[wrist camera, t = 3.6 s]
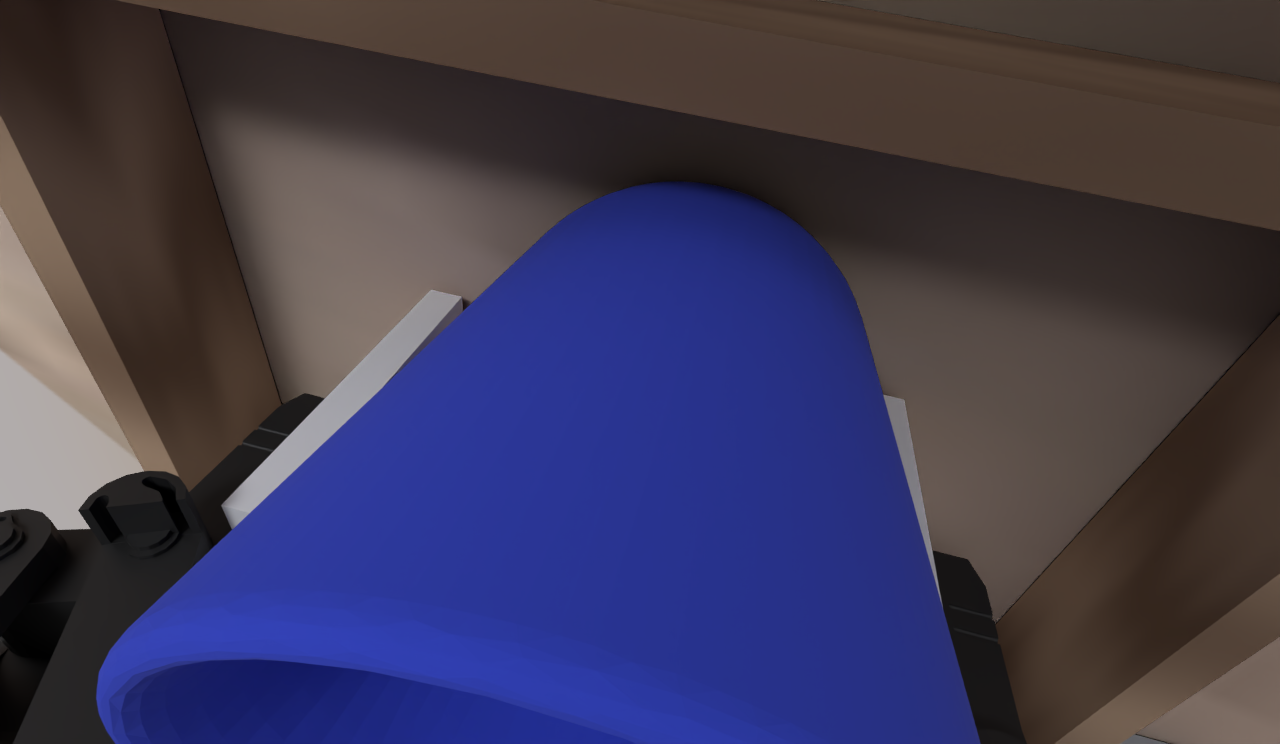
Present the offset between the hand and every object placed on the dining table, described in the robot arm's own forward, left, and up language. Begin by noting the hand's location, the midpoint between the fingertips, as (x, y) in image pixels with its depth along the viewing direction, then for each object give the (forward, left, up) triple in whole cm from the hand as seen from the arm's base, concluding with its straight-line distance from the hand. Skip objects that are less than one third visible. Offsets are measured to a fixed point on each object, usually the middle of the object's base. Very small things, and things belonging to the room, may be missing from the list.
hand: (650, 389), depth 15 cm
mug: (0, 0, 0) cm, 0 cm away
